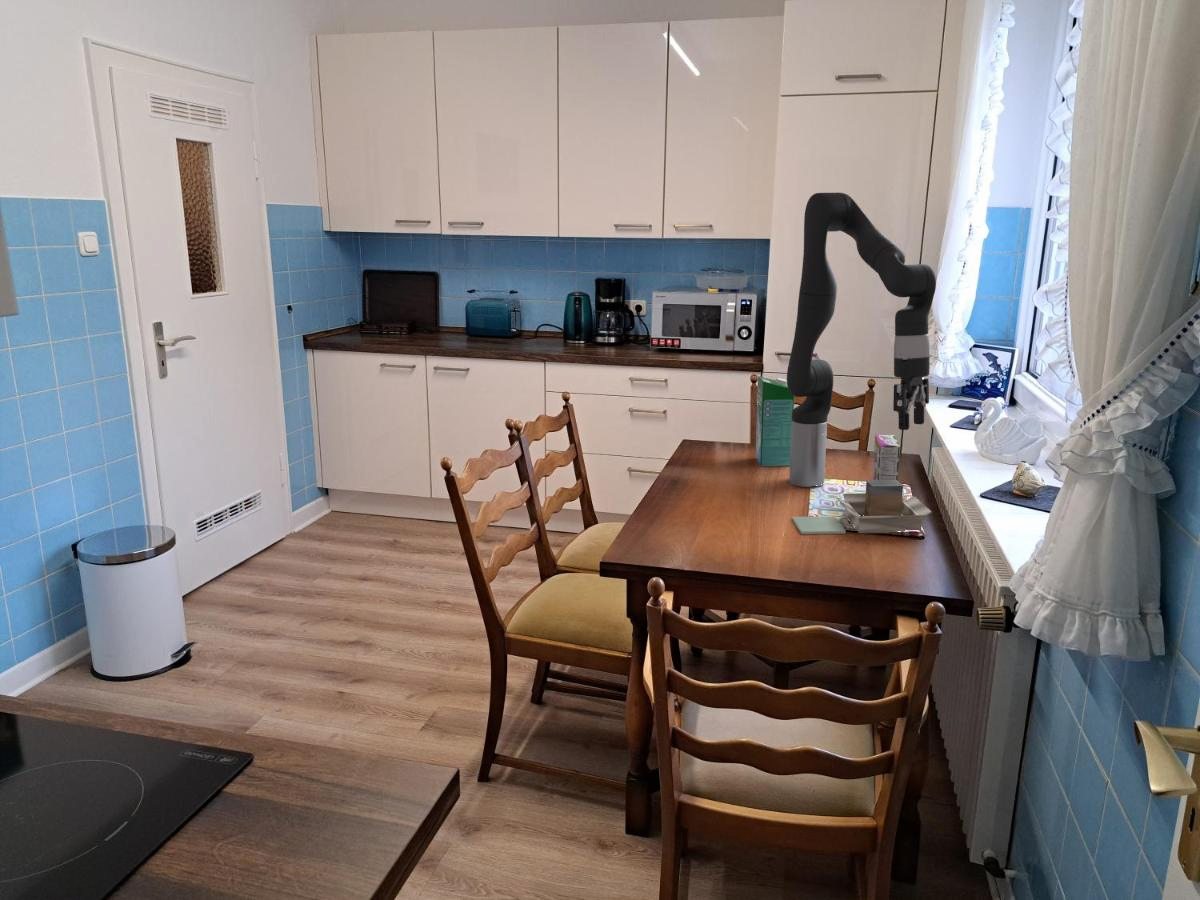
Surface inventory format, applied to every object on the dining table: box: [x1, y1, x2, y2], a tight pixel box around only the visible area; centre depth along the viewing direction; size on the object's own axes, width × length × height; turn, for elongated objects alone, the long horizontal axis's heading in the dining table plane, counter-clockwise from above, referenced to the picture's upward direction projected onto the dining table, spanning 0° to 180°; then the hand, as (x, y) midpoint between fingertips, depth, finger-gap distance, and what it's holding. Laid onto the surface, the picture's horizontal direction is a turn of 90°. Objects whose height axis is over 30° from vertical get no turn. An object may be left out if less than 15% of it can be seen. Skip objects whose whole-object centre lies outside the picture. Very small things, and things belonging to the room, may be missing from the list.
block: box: [864, 479, 904, 516], centre depth 198 cm, size 4×7×10 cm, turn 90°
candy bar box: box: [872, 434, 901, 482], centre depth 211 cm, size 11×5×16 cm, turn 168°
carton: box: [836, 492, 932, 534], centre depth 198 cm, size 16×18×5 cm
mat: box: [791, 515, 847, 535], centre depth 198 cm, size 10×10×1 cm
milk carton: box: [755, 376, 795, 467], centre depth 248 cm, size 9×9×25 cm
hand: (911, 426), depth 194 cm, fingers open, 8 cm apart
